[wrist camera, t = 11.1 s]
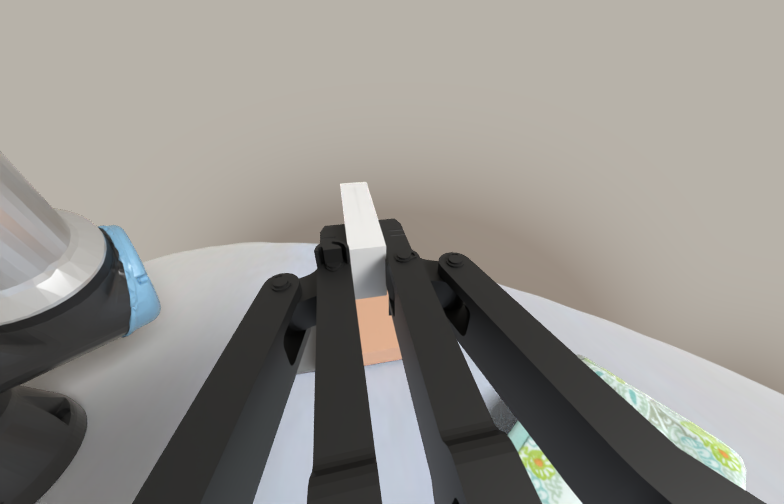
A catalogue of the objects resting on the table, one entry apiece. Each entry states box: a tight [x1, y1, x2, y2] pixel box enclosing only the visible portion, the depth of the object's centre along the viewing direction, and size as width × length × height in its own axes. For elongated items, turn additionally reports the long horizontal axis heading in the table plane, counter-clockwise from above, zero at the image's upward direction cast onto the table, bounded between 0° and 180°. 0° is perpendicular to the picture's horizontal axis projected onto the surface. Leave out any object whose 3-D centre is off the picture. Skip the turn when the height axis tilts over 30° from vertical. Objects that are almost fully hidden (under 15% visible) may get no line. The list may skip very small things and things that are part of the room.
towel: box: [507, 355, 746, 504], centre depth 30 cm, size 18×21×5 cm
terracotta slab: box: [356, 291, 402, 366], centre depth 46 cm, size 12×3×16 cm
